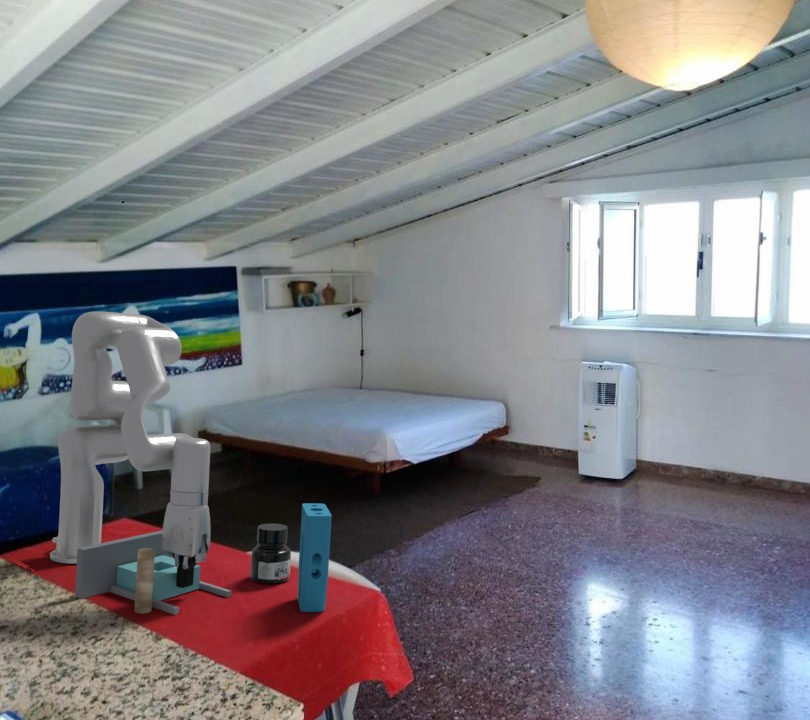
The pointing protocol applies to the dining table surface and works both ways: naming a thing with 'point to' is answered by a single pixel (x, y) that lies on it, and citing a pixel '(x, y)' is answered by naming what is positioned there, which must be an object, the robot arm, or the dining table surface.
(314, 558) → the block
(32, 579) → the dining table surface
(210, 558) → the dining table surface
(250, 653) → the dining table surface
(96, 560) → the backstop wall
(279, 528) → the ink bottle
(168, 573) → the socket block
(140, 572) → the dowel
